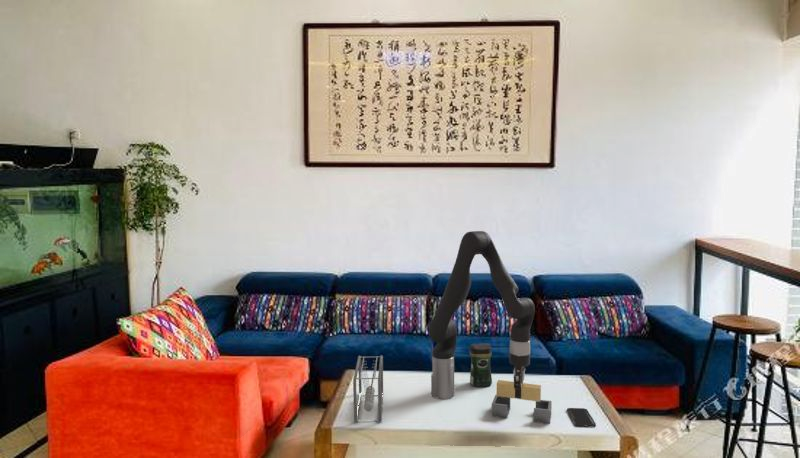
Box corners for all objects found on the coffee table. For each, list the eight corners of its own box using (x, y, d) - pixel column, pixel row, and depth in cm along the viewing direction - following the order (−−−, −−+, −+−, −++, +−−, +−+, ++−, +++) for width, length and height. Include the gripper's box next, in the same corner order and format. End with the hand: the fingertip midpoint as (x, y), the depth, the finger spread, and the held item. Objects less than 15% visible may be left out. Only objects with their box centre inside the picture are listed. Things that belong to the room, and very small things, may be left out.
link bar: (496, 395, 212) (496, 383, 212) (497, 392, 216) (498, 379, 215) (539, 401, 207) (540, 388, 207) (540, 398, 211) (541, 385, 210)
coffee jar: (489, 380, 257) (489, 340, 255) (493, 386, 249) (493, 346, 248) (468, 381, 256) (468, 341, 255) (472, 387, 249) (472, 347, 247)
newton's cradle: (359, 394, 244) (358, 354, 242) (383, 393, 244) (382, 353, 242) (353, 424, 214) (353, 379, 212) (381, 424, 214) (380, 379, 212)
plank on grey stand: (491, 416, 219) (491, 404, 219) (495, 406, 228) (495, 394, 228) (549, 423, 212) (550, 410, 212) (551, 413, 221) (551, 401, 221)
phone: (586, 408, 224) (596, 425, 209) (586, 411, 224) (596, 427, 209) (566, 408, 225) (574, 424, 210) (566, 410, 225) (574, 427, 210)
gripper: (512, 344, 217) (510, 387, 219) (507, 356, 204) (505, 401, 206) (531, 346, 215) (530, 390, 217) (528, 358, 202) (526, 404, 204)
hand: (518, 395), depth 211 cm, fingers closed on link bar, 3 cm apart
